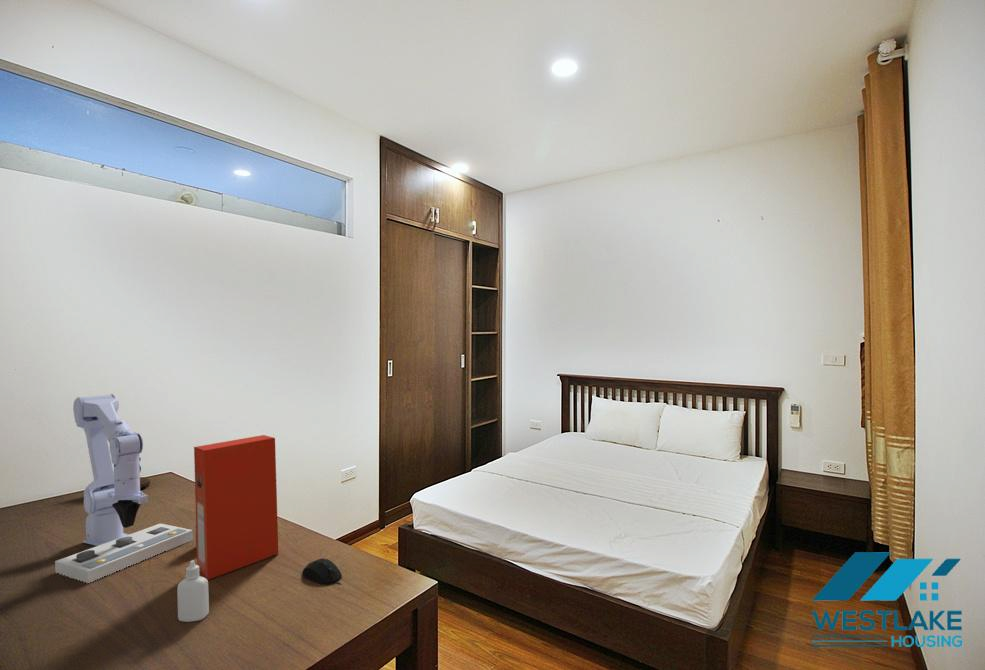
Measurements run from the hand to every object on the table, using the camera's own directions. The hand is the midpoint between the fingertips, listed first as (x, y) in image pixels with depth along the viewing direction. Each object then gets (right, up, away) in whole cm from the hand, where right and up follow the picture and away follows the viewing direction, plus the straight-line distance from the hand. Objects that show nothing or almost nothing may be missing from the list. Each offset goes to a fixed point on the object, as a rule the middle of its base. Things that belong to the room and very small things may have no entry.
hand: (128, 526), depth 132 cm
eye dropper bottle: (+39, -7, -32) cm, 51 cm away
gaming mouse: (+62, -6, -17) cm, 64 cm away
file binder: (+35, -7, -8) cm, 37 cm away
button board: (+2, -7, -2) cm, 8 cm away
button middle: (0, -5, -1) cm, 5 cm away
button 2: (+3, -6, +7) cm, 10 cm away
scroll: (-45, -9, +58) cm, 74 cm away
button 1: (-4, -5, -9) cm, 11 cm away
